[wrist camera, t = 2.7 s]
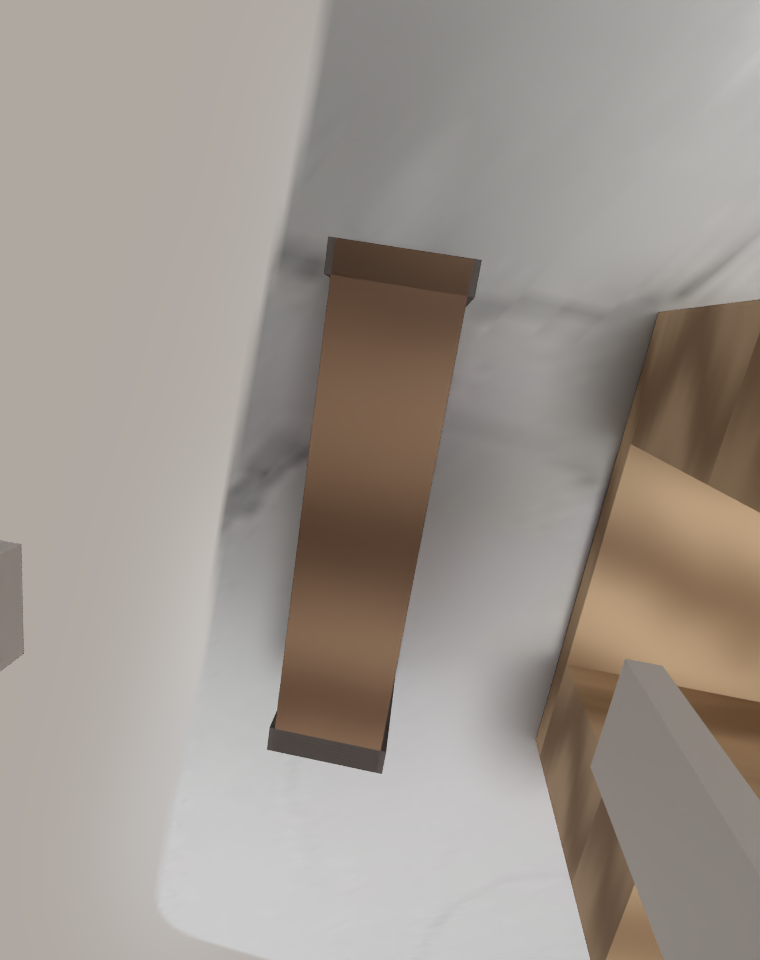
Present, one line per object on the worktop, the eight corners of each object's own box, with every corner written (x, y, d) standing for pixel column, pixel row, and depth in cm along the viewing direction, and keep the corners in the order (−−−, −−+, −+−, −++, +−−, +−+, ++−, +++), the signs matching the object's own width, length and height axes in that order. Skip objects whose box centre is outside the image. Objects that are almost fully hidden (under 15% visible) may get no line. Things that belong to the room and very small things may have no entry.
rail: (357, 265, 21) (328, 236, 15) (468, 282, 21) (481, 260, 15) (305, 657, 26) (267, 749, 20) (394, 675, 25) (381, 773, 20)
